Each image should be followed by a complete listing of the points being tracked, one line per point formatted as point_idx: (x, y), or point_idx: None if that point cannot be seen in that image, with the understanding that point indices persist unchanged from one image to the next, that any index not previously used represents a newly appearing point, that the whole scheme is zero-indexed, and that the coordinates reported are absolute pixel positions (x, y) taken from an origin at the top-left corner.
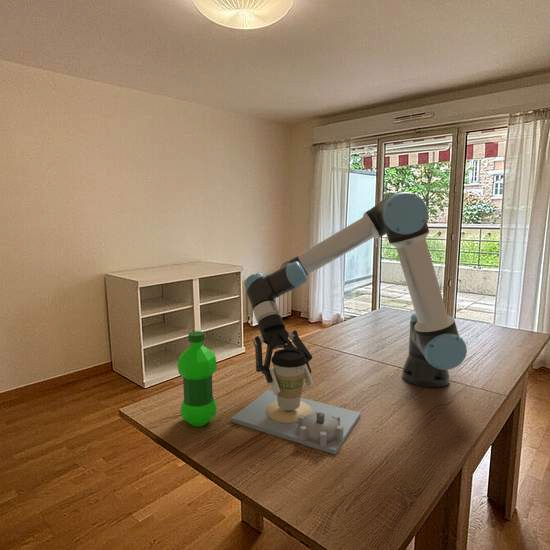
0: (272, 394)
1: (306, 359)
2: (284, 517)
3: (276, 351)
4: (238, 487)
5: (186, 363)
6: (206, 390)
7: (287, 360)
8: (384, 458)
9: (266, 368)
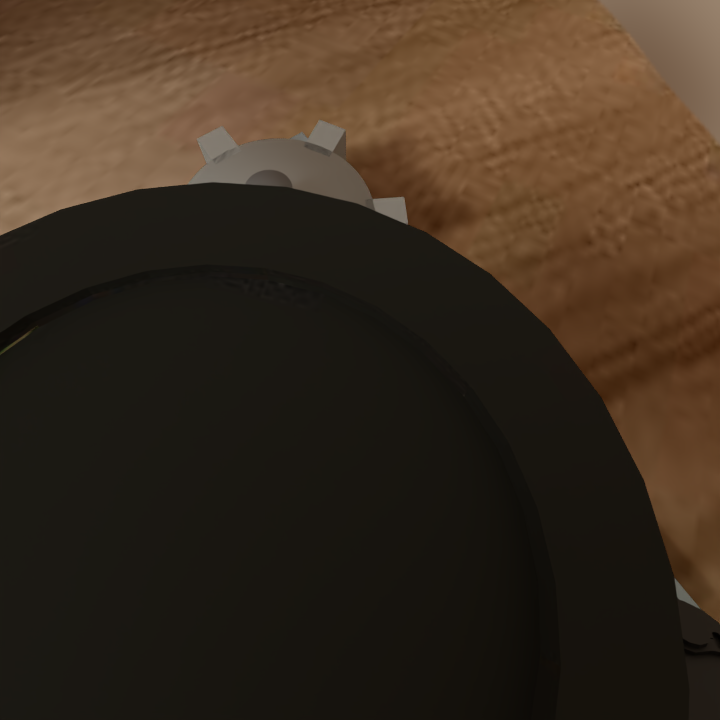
0: None
1: None
2: (602, 8)
3: None
4: (716, 145)
5: None
6: None
7: (437, 242)
8: (153, 67)
9: (697, 618)
